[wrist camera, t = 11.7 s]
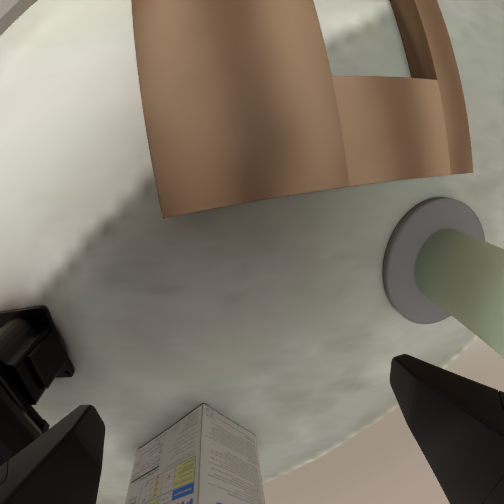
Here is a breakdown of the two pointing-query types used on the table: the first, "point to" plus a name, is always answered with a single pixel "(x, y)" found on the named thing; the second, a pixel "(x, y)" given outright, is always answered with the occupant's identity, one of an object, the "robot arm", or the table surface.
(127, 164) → the table surface
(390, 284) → the coaster
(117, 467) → the table surface
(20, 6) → the award plaque
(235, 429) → the light bulb box
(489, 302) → the peg
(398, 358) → the robot arm
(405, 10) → the puzzle board
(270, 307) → the table surface
